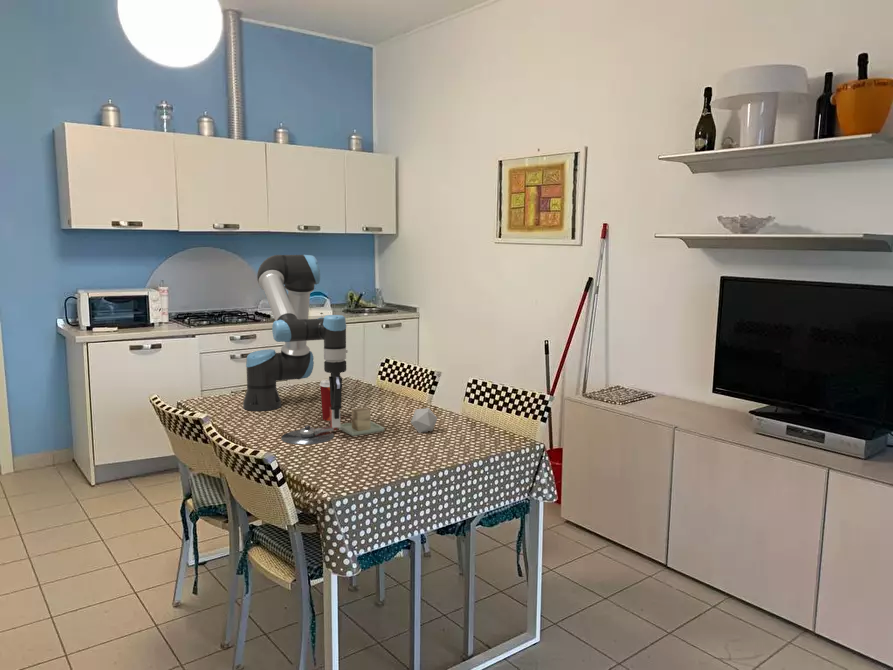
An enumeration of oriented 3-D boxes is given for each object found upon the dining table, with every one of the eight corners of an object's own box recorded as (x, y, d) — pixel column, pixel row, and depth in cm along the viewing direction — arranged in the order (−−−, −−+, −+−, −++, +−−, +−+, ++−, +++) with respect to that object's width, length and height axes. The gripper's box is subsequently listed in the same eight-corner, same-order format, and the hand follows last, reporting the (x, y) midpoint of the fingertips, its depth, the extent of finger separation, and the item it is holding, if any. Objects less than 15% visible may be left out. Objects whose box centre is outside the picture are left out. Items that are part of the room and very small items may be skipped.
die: (431, 428, 251) (414, 407, 250) (445, 420, 245) (429, 399, 244) (418, 441, 245) (402, 419, 244) (433, 434, 239) (416, 411, 238)
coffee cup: (337, 422, 255) (336, 383, 253) (316, 421, 257) (315, 382, 255) (344, 417, 264) (344, 379, 262) (324, 415, 265) (324, 378, 263)
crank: (303, 438, 232) (303, 413, 231) (298, 434, 236) (297, 410, 235) (340, 432, 240) (340, 408, 238) (334, 428, 244) (334, 405, 242)
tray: (337, 428, 247) (337, 424, 247) (368, 423, 254) (368, 419, 254) (352, 436, 237) (352, 432, 237) (384, 431, 244) (384, 427, 243)
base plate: (274, 435, 238) (273, 424, 237) (321, 428, 248) (321, 417, 247) (292, 448, 223) (292, 436, 222) (342, 440, 233) (342, 428, 232)
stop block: (351, 428, 246) (351, 409, 245) (364, 426, 249) (364, 407, 248) (357, 431, 242) (357, 412, 241) (370, 429, 244) (370, 410, 244)
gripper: (349, 362, 226) (350, 431, 230) (342, 356, 239) (343, 421, 242) (327, 363, 224) (328, 432, 227) (321, 357, 236) (322, 423, 239)
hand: (336, 426), depth 234 cm, fingers closed
